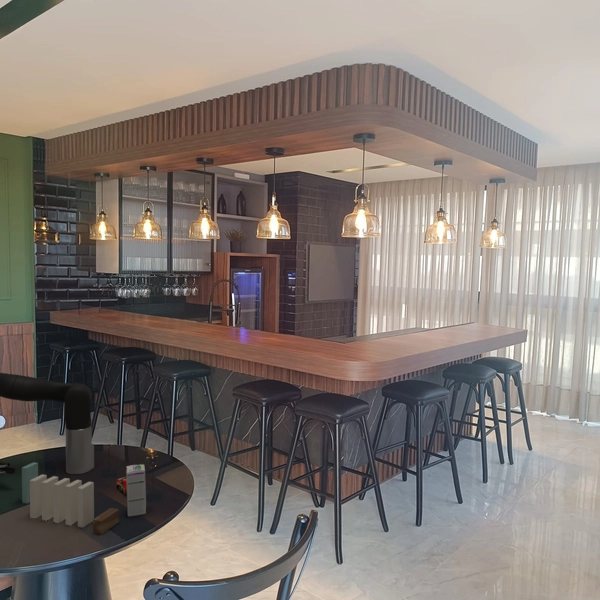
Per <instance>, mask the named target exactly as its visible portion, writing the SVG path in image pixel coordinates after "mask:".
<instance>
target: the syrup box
mask: <svg viewBox="0 0 600 600" xmlns="http://www.w3.org/2000/svg"><path fill="white" fill-rule="evenodd" d="M125 472H126V476H125V477H127V497H126V506H127V507H126V510H127V517H135V516H142V515H143V516H144V515H147V498H146V497H147V487H146V469H145V463H144V464H143V463H140V464H131V465H127V466H126V471H125Z"/></svg>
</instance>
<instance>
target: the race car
mask: <svg viewBox="0 0 600 600" xmlns="http://www.w3.org/2000/svg"><path fill="white" fill-rule="evenodd" d="M115 485H116V488H117V490H119V491H120V492H121V493H122V494H123V495H124V497H126V498H127V477H126V476H124V477H121V478H118V479H116V483H115Z"/></svg>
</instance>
